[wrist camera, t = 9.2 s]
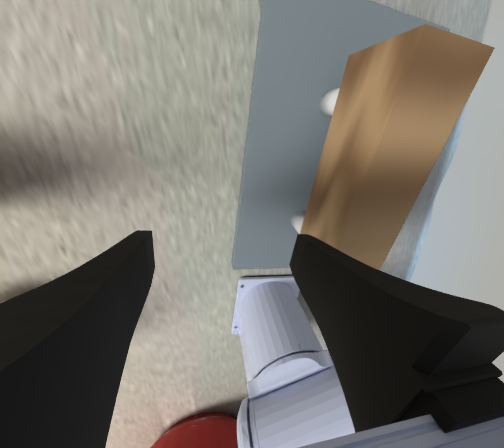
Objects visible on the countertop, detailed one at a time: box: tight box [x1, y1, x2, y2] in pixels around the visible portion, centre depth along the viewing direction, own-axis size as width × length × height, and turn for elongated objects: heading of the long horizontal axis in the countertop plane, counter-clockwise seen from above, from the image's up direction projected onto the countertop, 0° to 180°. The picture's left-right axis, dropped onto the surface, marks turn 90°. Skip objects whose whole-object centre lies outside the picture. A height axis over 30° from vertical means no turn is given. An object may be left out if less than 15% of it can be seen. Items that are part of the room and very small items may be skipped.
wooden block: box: [300, 24, 494, 270], centre depth 14 cm, size 14×4×5 cm, turn 172°
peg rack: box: [232, 0, 450, 269], centre depth 18 cm, size 22×14×4 cm, turn 172°
